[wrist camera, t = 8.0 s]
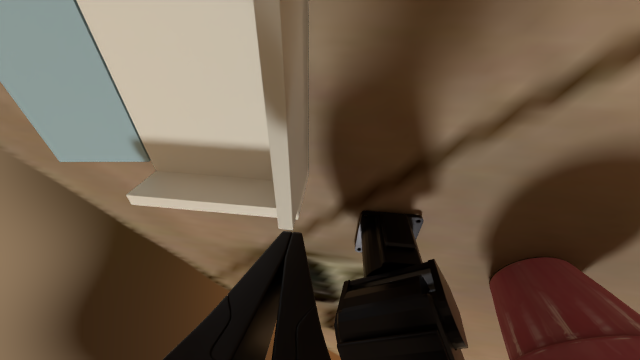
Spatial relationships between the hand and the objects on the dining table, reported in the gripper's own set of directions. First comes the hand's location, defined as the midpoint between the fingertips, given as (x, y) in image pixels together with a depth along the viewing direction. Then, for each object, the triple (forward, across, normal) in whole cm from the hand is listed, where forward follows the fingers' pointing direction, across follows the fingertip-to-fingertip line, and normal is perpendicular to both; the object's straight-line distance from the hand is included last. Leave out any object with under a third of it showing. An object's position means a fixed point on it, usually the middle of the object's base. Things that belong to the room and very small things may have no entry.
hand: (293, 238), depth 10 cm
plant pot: (+12, -27, +18) cm, 35 cm away
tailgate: (+10, +15, -5) cm, 18 cm away
